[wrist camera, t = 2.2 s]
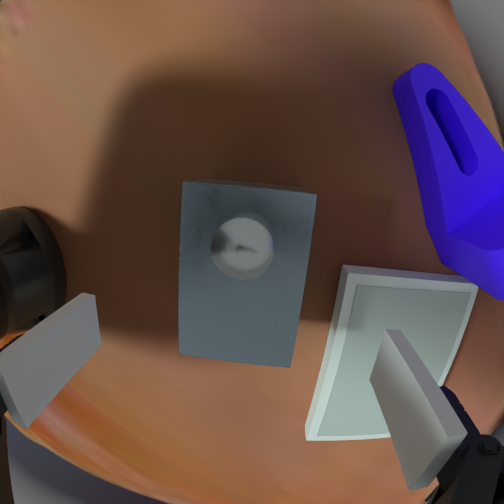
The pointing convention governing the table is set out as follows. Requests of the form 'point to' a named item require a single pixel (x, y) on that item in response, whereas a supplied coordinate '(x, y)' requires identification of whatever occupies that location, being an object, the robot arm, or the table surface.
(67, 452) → the table surface
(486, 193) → the bracket
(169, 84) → the table surface
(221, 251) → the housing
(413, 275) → the tray
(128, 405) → the table surface
